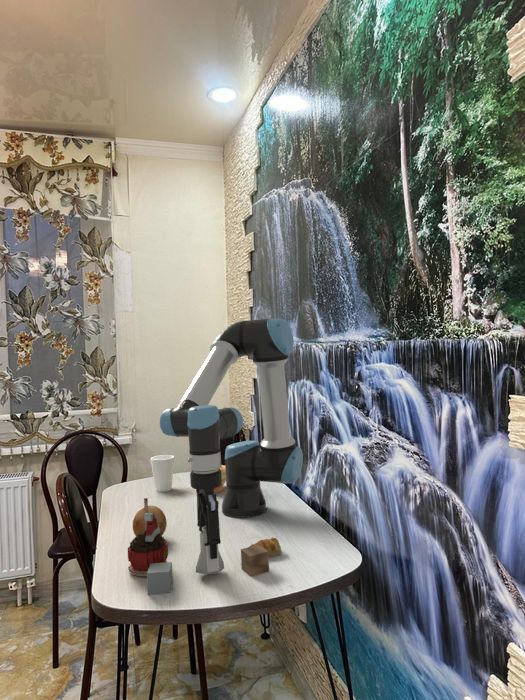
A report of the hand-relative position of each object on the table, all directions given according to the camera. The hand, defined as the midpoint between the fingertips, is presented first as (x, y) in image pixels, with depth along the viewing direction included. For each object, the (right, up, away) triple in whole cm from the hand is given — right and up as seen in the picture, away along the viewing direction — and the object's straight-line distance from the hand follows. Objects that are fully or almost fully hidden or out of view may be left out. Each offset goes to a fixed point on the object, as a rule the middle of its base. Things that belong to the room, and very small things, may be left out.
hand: (209, 564), depth 116 cm
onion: (-20, -4, +23) cm, 31 cm away
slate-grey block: (-11, -3, -6) cm, 13 cm away
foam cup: (-27, -5, +78) cm, 83 cm away
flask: (0, -1, 0) cm, 1 cm away
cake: (-16, -3, +4) cm, 17 cm away
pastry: (+13, -3, +11) cm, 18 cm away
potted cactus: (-7, -4, +76) cm, 76 cm away
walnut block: (+11, -2, +1) cm, 11 cm away
